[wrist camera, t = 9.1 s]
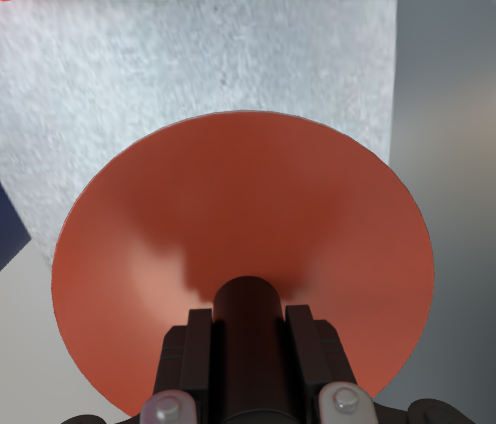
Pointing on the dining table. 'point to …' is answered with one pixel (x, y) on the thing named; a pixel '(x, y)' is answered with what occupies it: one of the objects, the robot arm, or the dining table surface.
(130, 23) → the dining table surface
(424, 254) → the lid
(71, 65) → the dining table surface
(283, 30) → the dining table surface
